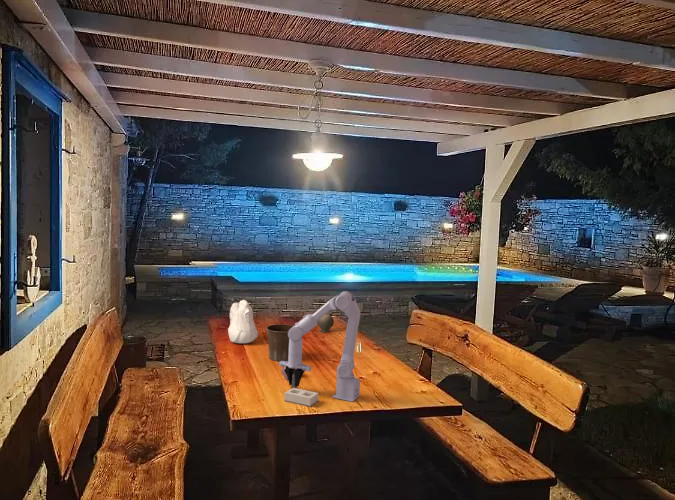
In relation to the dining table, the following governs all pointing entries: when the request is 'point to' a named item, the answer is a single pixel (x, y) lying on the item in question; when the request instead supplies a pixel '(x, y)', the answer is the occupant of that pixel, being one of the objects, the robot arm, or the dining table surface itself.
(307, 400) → the bore block
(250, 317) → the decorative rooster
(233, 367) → the dining table surface
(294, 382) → the pin
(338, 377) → the robot arm
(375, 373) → the dining table surface
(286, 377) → the video game controller
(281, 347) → the plant pot
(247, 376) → the dining table surface
